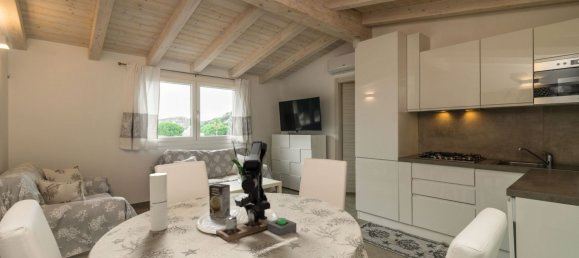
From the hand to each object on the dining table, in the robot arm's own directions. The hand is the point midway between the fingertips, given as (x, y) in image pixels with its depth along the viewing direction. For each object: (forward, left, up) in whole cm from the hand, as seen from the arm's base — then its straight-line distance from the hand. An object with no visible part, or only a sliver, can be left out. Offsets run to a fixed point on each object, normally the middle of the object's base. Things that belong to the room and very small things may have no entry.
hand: (253, 221), depth 120 cm
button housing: (+11, +7, -4) cm, 14 cm away
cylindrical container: (-32, -31, -4) cm, 44 cm away
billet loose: (0, 0, -2) cm, 2 cm away
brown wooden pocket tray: (0, -6, -4) cm, 7 cm away
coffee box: (-29, -2, -4) cm, 29 cm away
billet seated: (0, -11, -3) cm, 11 cm away
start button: (+11, +7, 0) cm, 13 cm away
